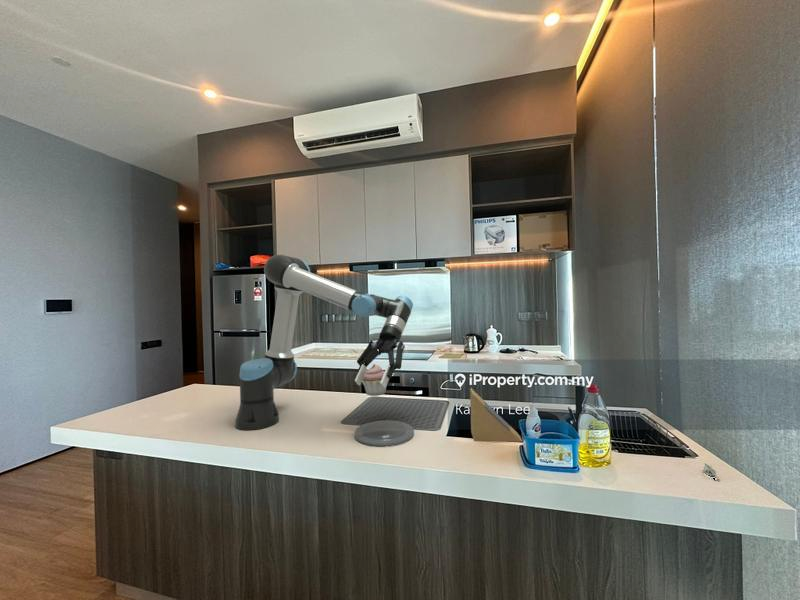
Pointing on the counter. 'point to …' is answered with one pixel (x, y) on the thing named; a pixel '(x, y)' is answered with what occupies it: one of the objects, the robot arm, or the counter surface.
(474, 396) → the sandwich container
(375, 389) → the cupcake
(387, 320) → the robot arm
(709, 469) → the small metal piece
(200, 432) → the counter surface
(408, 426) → the slate plate
